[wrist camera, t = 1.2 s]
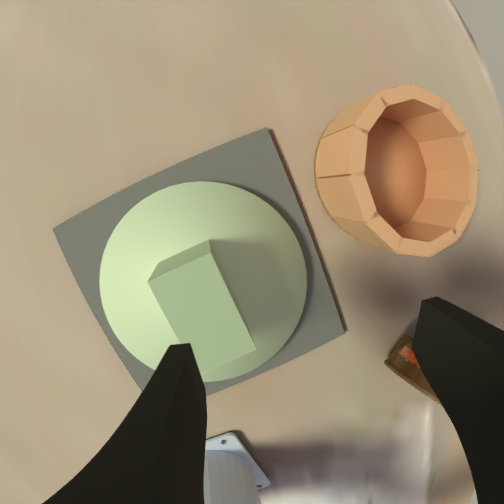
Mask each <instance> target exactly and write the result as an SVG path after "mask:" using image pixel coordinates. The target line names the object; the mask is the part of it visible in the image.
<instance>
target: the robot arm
mask: <svg viewBox="0 0 504 504" xmlns="http://www.w3.org/2000/svg"><path fill="white" fill-rule="evenodd" d="M412 350H413V353H414V355H415V357H416V360H417V362H418V364H419V366H420V368H421V371H422V373H423V374H424V376H425V378H426V379H427V381H428V383H429V384H430V386H431V388H432V389H433V391H434V393H435V394H436V396H437V398H438V399H439V401H440V402H441V404H442V406H443V407H444V409H445V411H446V413H447V414H448V416H449V418H450V419H451V421H452V423H453V425H454V427H455V429H456V431H457V433H458V436H459V438H460V441H461V443H462V446H463V449H464V451H465V454H466V457H467V460H468V463H469V466H470V470H471V473H472V477H473V481H474V485H475V489H476V494H477V500H478V504H504V331H503V330H501V329H499V328H497V327H495V326H493V325H491V324H489V323H487V322H485V321H484V320H482V319H480V318H478V317H476V316H474V315H472V314H471V313H469V312H467V311H465V310H463V309H461V308H459V307H458V306H456V305H454V304H452V303H450V302H448V301H446V300H443V299H441V298H439V297H434V298H430V299H426V300H422V303H421V308H420V313H419V318H418V322H417V327H416V331H415V335H414V339H413V344H412ZM206 429H207V406H206V389H205V386H204V383H203V380H202V377H201V374H200V371H199V368H198V365H197V362H196V359H195V356H194V353H193V349H192V346H191V343H184V344H174V345H170V346H169V347H168V348H167V350H166V352H165V354H164V355H163V357H162V359H161V361H160V363H159V364H158V366H157V368H156V370H155V371H154V373H153V375H152V377H151V378H150V380H149V382H148V383H147V385H146V386H145V388H144V390H143V391H142V393H141V395H140V396H139V398H138V399H137V401H136V403H135V404H134V406H133V407H132V408H131V410H130V411H129V413H128V414H127V416H126V417H125V419H124V420H123V421H122V423H121V424H120V426H119V427H118V428H117V430H116V431H115V432H114V434H113V435H112V436H111V437H110V439H109V440H108V441H107V442H106V444H105V445H104V446H103V447H102V448H101V450H100V451H99V452H98V453H97V454H96V455H95V456H94V457H93V458H92V460H91V461H90V462H89V463H88V464H87V465H86V466H85V467H84V468H83V469H82V470H81V471H80V472H79V473H78V474H77V475H76V476H75V477H74V478H73V479H72V480H70V481H69V482H68V483H67V484H66V485H65V486H63V487H62V488H61V489H60V490H59V491H58V492H56V493H55V494H54V495H53V496H52V497H50V498H49V499H48V500H46V501H45V502H44V503H42V504H261V502H260V498H259V494H258V490H259V489H262V488H265V487H267V486H269V485H270V481H269V479H268V478H267V476H266V475H265V474H264V472H263V471H262V470H261V468H260V467H259V466H258V465H257V463H256V462H255V460H254V459H253V458H252V456H251V455H250V454H249V452H248V451H247V450H246V448H245V447H244V445H243V444H242V443H241V441H240V440H239V438H238V437H237V436H236V434H235V433H226V434H223V435H220V436H217V437H214V438H211V439H208V440H206ZM222 440H226V441H222Z"/></svg>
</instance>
